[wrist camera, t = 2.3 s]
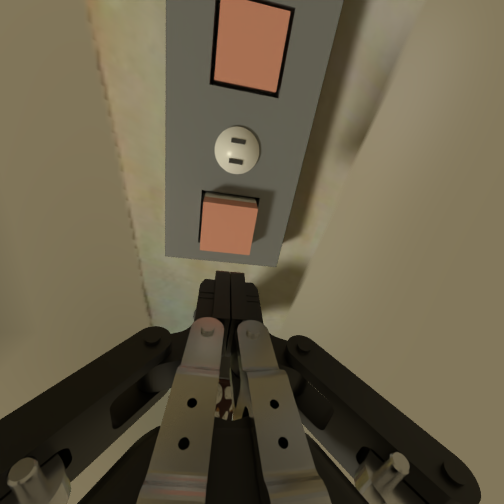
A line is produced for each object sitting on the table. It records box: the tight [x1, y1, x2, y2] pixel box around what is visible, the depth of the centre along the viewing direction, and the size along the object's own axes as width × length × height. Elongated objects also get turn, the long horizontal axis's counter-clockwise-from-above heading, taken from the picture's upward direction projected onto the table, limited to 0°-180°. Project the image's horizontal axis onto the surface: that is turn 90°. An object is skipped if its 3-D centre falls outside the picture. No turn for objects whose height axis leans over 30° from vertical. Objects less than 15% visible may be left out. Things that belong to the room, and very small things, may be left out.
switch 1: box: [214, 0, 291, 94], centre depth 16 cm, size 4×4×2 cm
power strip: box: [165, 0, 344, 267], centre depth 19 cm, size 24×10×4 cm, turn 170°
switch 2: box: [200, 192, 258, 255], centre depth 21 cm, size 4×4×2 cm
